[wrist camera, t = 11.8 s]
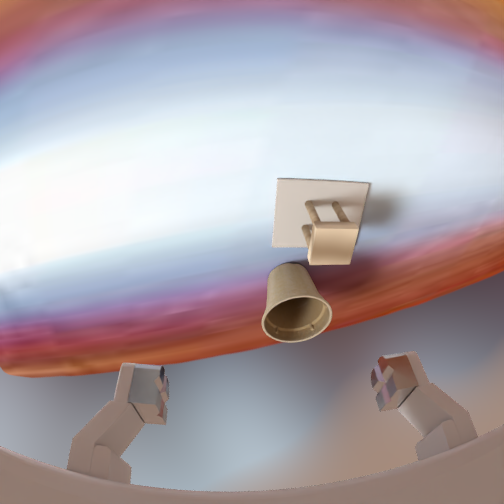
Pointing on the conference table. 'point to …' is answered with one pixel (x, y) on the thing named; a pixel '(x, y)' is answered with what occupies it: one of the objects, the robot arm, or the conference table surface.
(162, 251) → the conference table surface
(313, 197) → the mat
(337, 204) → the stool
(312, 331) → the flower pot
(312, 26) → the conference table surface
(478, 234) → the conference table surface
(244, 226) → the conference table surface
